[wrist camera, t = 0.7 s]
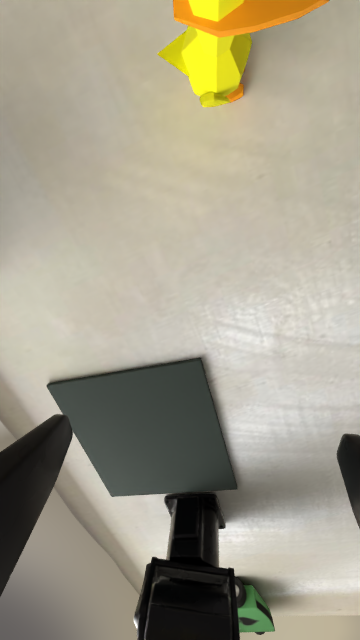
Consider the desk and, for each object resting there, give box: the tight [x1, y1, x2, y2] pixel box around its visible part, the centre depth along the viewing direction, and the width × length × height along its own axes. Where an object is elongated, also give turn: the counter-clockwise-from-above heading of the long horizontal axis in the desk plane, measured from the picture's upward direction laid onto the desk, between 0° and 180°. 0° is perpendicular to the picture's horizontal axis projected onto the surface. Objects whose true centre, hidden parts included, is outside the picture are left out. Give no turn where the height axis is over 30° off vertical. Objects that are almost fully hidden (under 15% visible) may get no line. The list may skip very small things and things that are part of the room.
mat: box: [47, 358, 237, 497], centre depth 28 cm, size 18×16×1 cm
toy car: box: [235, 577, 275, 635], centre depth 41 cm, size 10×19×5 cm, turn 117°
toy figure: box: [157, 0, 330, 107], centre depth 10 cm, size 7×4×12 cm, turn 94°
